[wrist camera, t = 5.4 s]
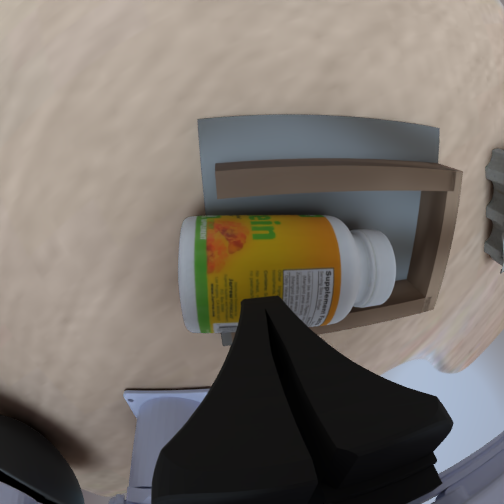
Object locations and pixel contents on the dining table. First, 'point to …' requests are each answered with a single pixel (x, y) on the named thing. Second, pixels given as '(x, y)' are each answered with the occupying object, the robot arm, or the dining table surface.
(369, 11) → the dining table surface
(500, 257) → the egg carton
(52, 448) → the bowl of black rocks
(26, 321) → the dining table surface
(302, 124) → the cradle
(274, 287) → the supplement bottle
